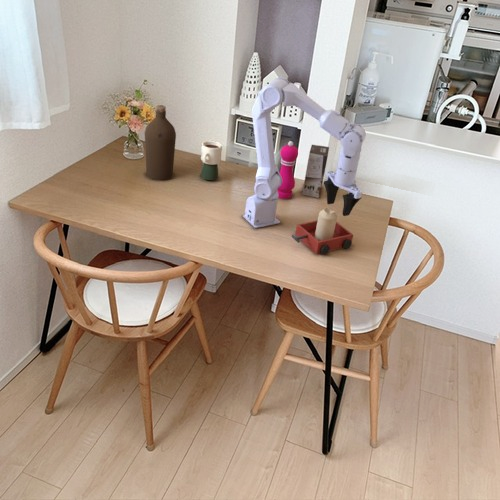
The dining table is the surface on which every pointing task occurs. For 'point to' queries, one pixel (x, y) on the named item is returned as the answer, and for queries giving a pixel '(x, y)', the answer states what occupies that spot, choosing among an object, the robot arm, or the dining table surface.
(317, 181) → the coffee box
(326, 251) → the cart wheels
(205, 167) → the character mug
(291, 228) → the dining table surface
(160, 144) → the olive oil
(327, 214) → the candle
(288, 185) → the pepper mill
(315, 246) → the cart
